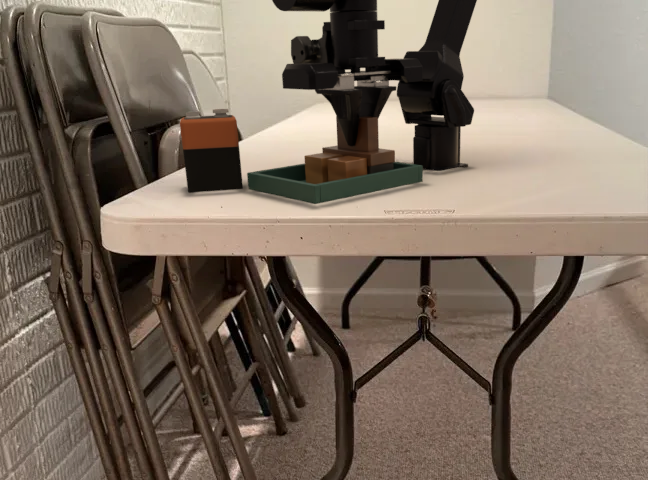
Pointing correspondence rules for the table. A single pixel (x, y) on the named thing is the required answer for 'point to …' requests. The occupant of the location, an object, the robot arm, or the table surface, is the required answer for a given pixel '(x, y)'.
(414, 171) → the tray
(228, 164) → the battery
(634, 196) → the table surface
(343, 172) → the crumb
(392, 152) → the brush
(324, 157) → the brown wooden cube
